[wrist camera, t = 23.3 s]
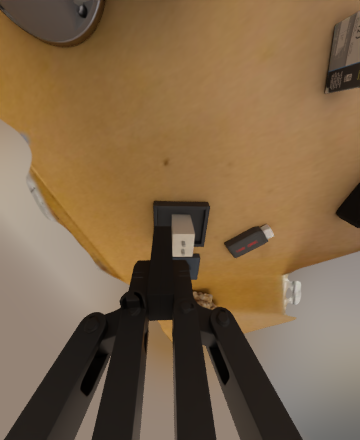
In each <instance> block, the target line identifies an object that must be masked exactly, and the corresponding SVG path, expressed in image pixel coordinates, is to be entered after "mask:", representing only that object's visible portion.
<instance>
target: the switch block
mask: <svg viewBox="0 0 360 440" xmlns="http://www.w3.org/2000/svg"><path fill="white" fill-rule="evenodd" d="M173 260H186V261H187V263H188V264H189V269H190V277H191V280H197V275H198V269H199V262H200V255H199V254H193V256H192V257H173Z"/></svg>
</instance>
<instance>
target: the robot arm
mask: <svg viewBox="0 0 360 440" xmlns="http://www.w3.org/2000/svg"><path fill="white" fill-rule="evenodd" d="M104 5H105V0H0V10H1V11H2V12H3V13H4V14H5V15H6V16H7V17H8V18H9V19H10V20H12V21H13V22H14V23H15V24H16V25H18V26H19V27H20V28H22V29H23V30H25V31H26V32H28V33H29V34H31V35H33V36H34V37H36V38H37V39H39V40H41V41H43V42H45V43H48V44H50V45H54V46H59V47H70V46H75V45H78V44H80V43H82V42H84V41H85V40H86V39H88V38H89V37H90V36H91V35H92V34H93V32H94V31H95V29H96V28H97V26H98V24H99V22H100V19H101V17H102V13H103V10H104ZM120 305H121V308H120V309H118V310H116V311H114V312H111V313H108V314H105V315H104V314H102V313H100V312H94V313H91V314H89V315H88V316H86V317H85V318H84V319H83V320H82V321H81V322H80V324H79V325H78V327H77V328H76V330H75V331H74V333H73V335H72V336H71V338H70V339H69V341H68V342H67V344H66V345H65V347H64V348H63V350H62V351H61V353H60V355H59V356H58V358H57V359H56V361H55V362H54V364H53V365H52V367H51V368H50V370H49V371H48V373H47V374H46V376H45V378H44V379H43V381H42V382H41V384H40V385H39V387H38V388H37V390H36V392H35V393H34V394H33V396H32V398H31V399H30V401H29V402H28V404H27V405H26V407H25V408H24V410H23V411H22V413H21V414H20V416H19V418H18V419H17V421H16V422H15V424H14V425H13V427H12V428H11V430H10V431H9V433H8V435H7V436H6V438H5V439H4V440H74V439H75V437H76V435H77V432H78V430H79V428H80V425H81V423H82V421H83V418H84V416H85V414H86V411H87V409H88V407H89V404H90V402H91V400H92V398H93V395H94V393H95V391H96V388H97V386H98V384H99V381H100V379H101V377H102V374H103V372H104V370H105V368H106V365H107V363H108V360H109V358H110V356H111V358H110V363H109V367H108V371H107V376H106V380H105V384H104V389H103V393H102V397H101V402H100V406H99V410H98V415H97V419H96V423H95V427H94V432H93V436H92V440H139V439H140V428H141V415H142V403H143V392H144V381H145V369H146V355H147V344H148V332H149V331H148V324H149V320H150V321H153V320H154V321H155V320H173V329H172V336H173V374H174V375H173V376H174V377H173V380H174V426H175V427H174V428H175V440H216V434H215V427H214V420H213V414H212V407H211V401H210V394H209V387H208V381H207V374H206V367H205V360H204V353H203V347H202V345H205V346H206V348H207V351H208V353H209V356H210V359H211V361H212V364H213V366H214V369H215V372H216V375H217V377H218V380H219V383H220V386H221V388H222V391H223V393H224V397H225V399H226V402H227V404H228V407H229V410H230V413H231V415H232V418H233V421H234V423H235V426H236V429H237V431H238V434H239V437H240V440H303V439H302V437H301V436H300V434H299V432H298V430H297V429H296V427H295V425H294V423H293V421H292V420H291V418H290V416H289V414H288V412H287V411H286V409H285V407H284V405H283V404H282V402H281V400H280V398H279V397H278V395H277V393H276V391H275V389H274V387H273V386H272V384H271V382H270V381H269V379H268V377H267V375H266V373H265V372H264V370H263V368H262V366H261V364H260V363H259V361H258V359H257V357H256V355H255V354H254V352H253V350H252V348H251V347H250V345H249V343H248V341H247V339H246V338H245V336H244V334H243V332H242V331H241V329H240V327H239V325H238V323H237V322H236V320H235V318H234V316H233V315H232V314H231V312H230V311H229V310H227V309H226V308H223V307H216V308H215V309H213V310H211V309H208V308H205V307H202V306H200V305H199V304H198V303H197V302H196V301H195V299H194V296H193V290H192V283H191V277H190V269H189V264H188V263H187V261H186V260H173V254H172V227H171V226H154V234H153V243H152V251H151V260H147V261H138V262H137V263H136V264H135V266H134V269H133V274H132V279H131V282H130V287H129V291H128V292H126V293H125V294H124V295H123V296H122V297H121V299H120Z"/></svg>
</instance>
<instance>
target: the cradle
mask: <svg viewBox="0 0 360 440" xmlns="http://www.w3.org/2000/svg"><path fill="white" fill-rule="evenodd" d="M153 208H154V226H171V227H172V214H184V215H190V216H191V220H192V224H193V228H194V232H195V238H194V247H204V242H205V235H206V229H207V223H208V216H209V210H210V206H209V204H208V202H171V201H154V205H153Z"/></svg>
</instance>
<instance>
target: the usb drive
mask: <svg viewBox="0 0 360 440" xmlns="http://www.w3.org/2000/svg"><path fill="white" fill-rule="evenodd" d="M273 236H274V234H273V232H272V230H271V228H270V227H269V226H268V225H267V224H266V225H264V226H262V227H259V226H258V227H253V228H251V229H249V230H247V231H245V232H244V233H242V234H240V235H238V236H236V237H234V238H232V239H231V240H229V241H227V242H225V245H226V247H227V248H228V250H229V251H230V253H231V254H232V256H233V257H234V258H237V257H239V256H241V255H243V254H245V253H247V252H249V251H251V250H253V249H255V248H257V247H259V246H261V245H263V244H265V243H266V242H268V239H269V238H271V237H273Z"/></svg>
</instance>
